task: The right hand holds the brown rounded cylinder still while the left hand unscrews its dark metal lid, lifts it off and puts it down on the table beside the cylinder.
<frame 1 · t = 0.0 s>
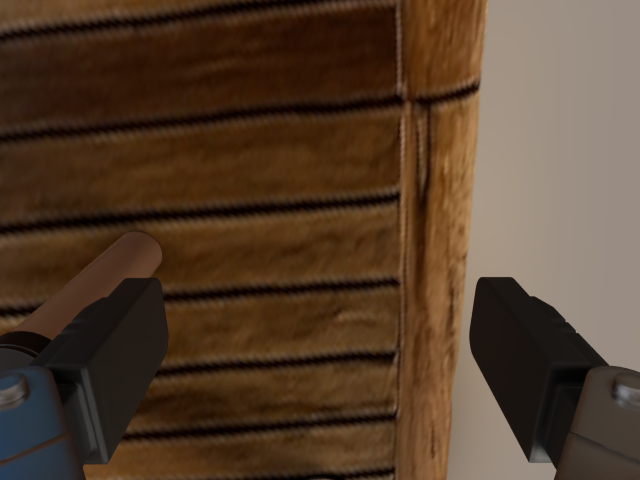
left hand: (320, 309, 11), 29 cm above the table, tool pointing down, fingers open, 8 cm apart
lid: (16, 381, 25), point 19 cm above the table, screwed on, not yet turned
brown rounded cylinder: (139, 252, 43), on the table
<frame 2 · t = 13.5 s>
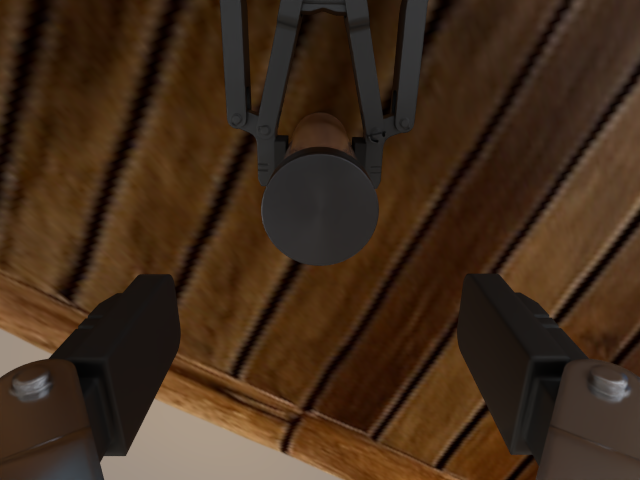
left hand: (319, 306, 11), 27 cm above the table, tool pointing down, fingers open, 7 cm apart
right hand: (318, 229, 32), fingers closed on brown rounded cylinder, 4 cm apart
lid: (319, 210, 19), point 19 cm above the table, screwed on, not yet turned
brown rounded cylinder: (319, 140, 36), on the table, touching right hand
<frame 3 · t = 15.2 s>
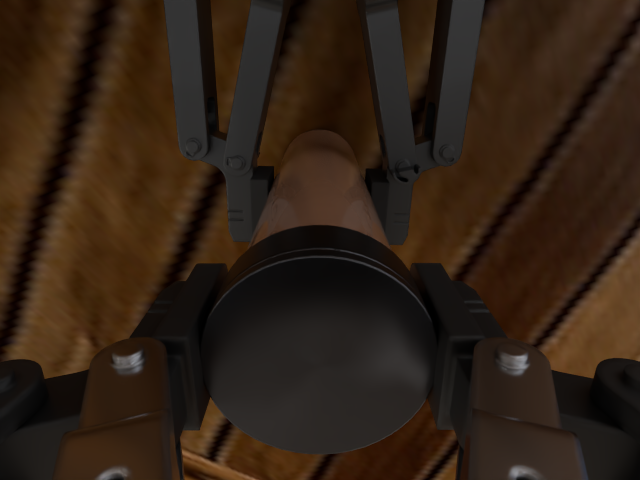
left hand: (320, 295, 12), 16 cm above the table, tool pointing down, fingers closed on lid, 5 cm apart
lid: (319, 355, 9), point 19 cm above the table, screwed on, not yet turned, touching left hand
brown rounded cylinder: (319, 167, 27), on the table, touching right hand
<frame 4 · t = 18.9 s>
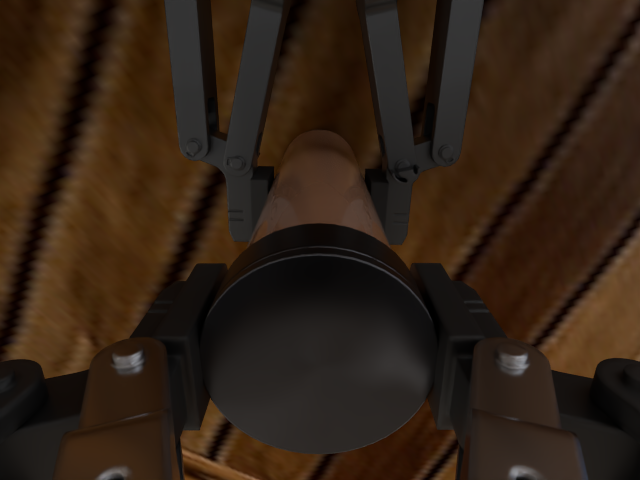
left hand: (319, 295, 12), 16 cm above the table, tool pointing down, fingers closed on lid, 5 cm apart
lid: (318, 354, 9), point 19 cm above the table, turned 80° so far, risen 0.1 cm, still on its thread, touching left hand
brown rounded cylinder: (319, 167, 27), on the table, touching right hand
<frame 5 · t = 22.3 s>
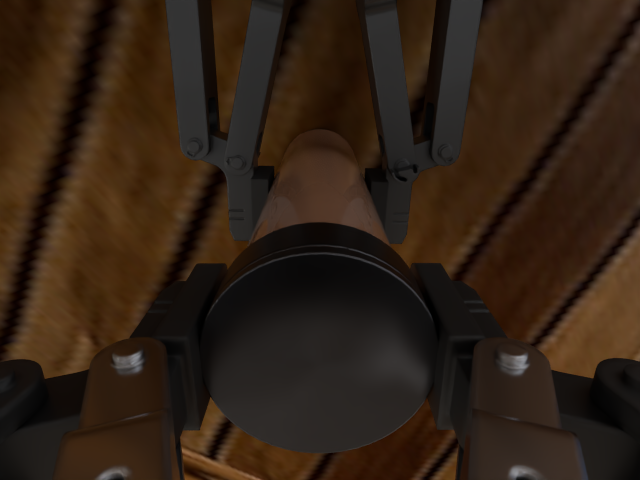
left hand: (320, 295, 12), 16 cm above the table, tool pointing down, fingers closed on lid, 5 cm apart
lid: (319, 352, 9), point 19 cm above the table, turned 160° so far, risen 0.2 cm, still on its thread, touching left hand
brown rounded cylinder: (319, 166, 27), on the table, touching right hand
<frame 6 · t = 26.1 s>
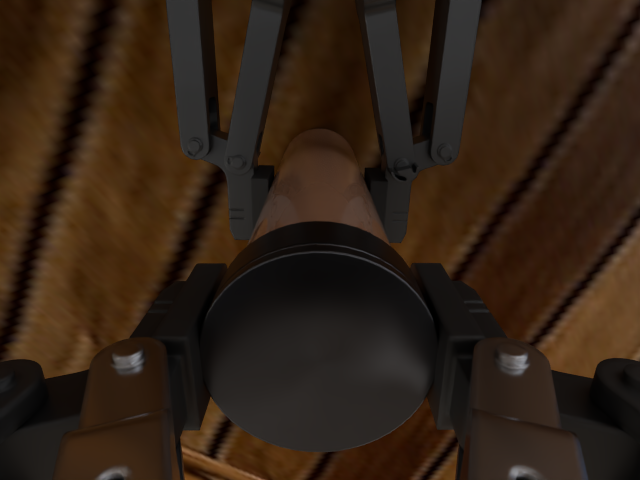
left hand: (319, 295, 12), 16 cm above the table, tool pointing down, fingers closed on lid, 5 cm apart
lid: (318, 351, 9), point 19 cm above the table, turned 239° so far, risen 0.3 cm, still on its thread, touching left hand
brown rounded cylinder: (319, 165, 27), on the table, touching right hand
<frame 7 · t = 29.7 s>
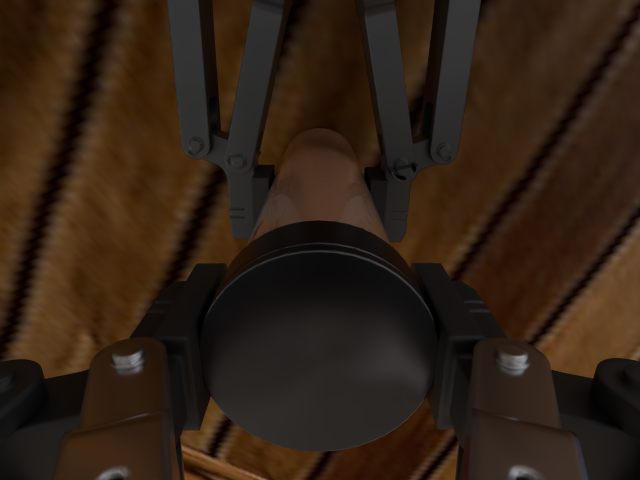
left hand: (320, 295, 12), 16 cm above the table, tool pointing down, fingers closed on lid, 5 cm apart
lid: (318, 351, 9), point 19 cm above the table, turned 319° so far, risen 0.4 cm, still on its thread, touching left hand
brown rounded cylinder: (319, 165, 27), on the table, touching right hand
when the left hand's fingers open (0 cm above the table, at t = 39.9 s): lid drops 2 cm, point 1 cm above the table.
when the right hand's fingers open (7 cm above the table, at t = 40.8 s): brown rounded cylinder stays where it is, on the table.
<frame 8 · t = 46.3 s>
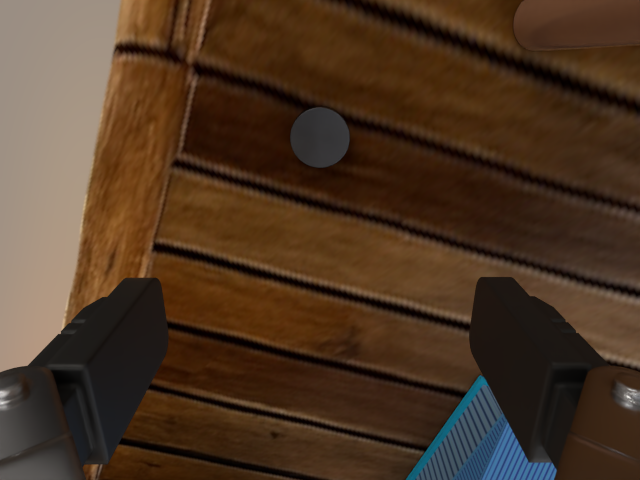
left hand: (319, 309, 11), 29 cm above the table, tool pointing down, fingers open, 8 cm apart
lid: (319, 137, 37), point 1 cm above the table, off its thread
brown rounded cylinder: (541, 20, 35), on the table
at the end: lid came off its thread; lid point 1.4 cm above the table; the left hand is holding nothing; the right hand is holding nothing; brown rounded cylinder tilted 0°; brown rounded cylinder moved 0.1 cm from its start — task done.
